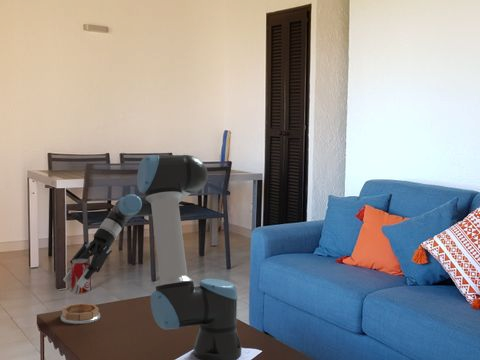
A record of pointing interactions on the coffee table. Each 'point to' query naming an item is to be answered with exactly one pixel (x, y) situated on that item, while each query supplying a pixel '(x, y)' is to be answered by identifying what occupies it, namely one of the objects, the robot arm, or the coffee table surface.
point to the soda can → (75, 274)
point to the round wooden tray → (80, 314)
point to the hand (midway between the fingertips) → (72, 283)
